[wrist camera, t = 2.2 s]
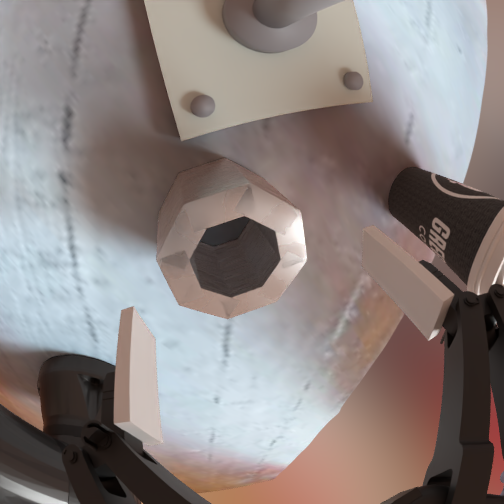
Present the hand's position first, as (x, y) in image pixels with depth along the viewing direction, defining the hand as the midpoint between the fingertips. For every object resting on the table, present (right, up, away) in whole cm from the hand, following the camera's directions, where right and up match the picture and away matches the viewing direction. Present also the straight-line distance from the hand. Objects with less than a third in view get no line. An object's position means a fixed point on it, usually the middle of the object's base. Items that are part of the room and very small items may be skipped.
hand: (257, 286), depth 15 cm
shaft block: (0, +19, +1) cm, 19 cm away
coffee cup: (+17, +8, +13) cm, 23 cm away
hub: (-3, +5, +8) cm, 10 cm away
